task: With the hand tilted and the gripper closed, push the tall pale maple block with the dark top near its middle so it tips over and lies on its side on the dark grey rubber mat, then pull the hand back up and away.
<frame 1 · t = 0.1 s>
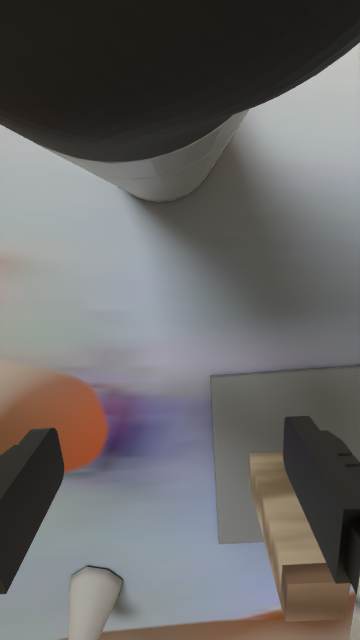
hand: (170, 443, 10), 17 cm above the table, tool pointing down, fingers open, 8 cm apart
flask: (96, 580, 40), on the table
rubber mat: (312, 462, 33), on the table
maple block: (268, 467, 32), resting on rubber mat
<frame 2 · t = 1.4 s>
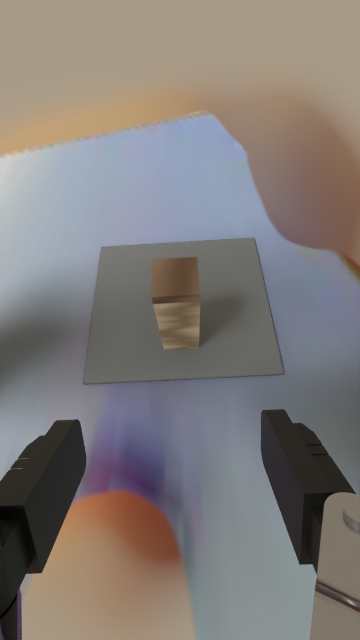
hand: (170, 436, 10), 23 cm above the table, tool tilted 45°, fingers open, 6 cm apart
rubber mat: (179, 302, 40), on the table
maple block: (180, 333, 37), resting on rubber mat
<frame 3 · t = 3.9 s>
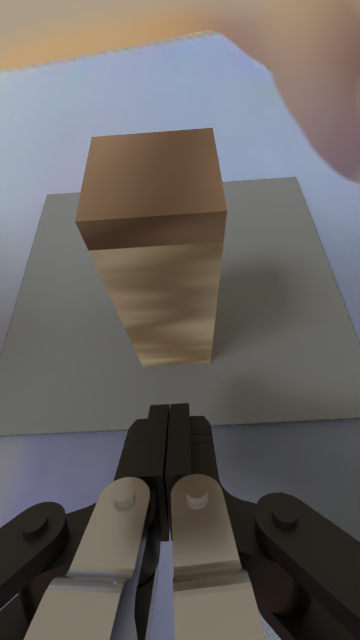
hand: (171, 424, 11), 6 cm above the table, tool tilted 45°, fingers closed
rubber mat: (173, 280, 23), on the table
maple block: (175, 334, 20), resting on rubber mat
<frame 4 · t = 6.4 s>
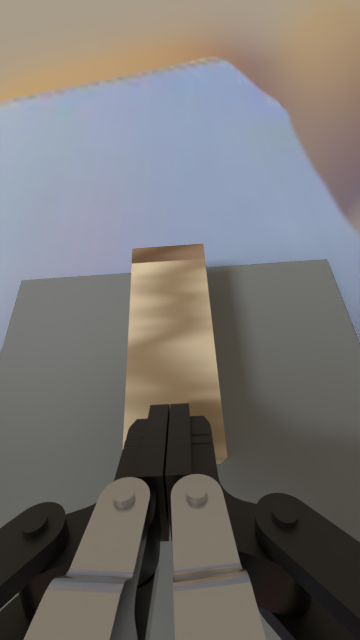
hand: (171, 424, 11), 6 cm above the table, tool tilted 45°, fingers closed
rubber mat: (178, 415, 17), on the table
maple block: (177, 463, 14), point 3 cm above the table, tilted 90°, touching rubber mat
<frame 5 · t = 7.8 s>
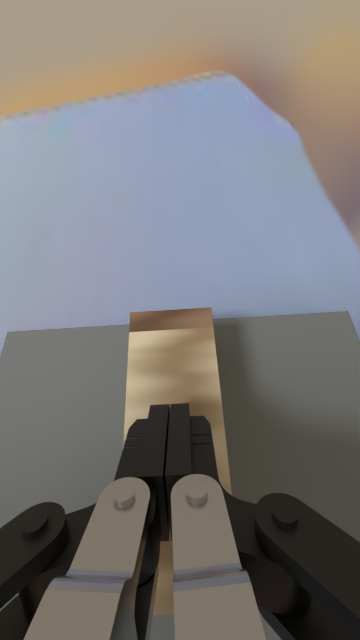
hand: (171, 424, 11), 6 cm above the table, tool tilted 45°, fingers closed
rubber mat: (182, 507, 15), on the table
maple block: (182, 592, 12), point 3 cm above the table, tilted 90°, touching rubber mat
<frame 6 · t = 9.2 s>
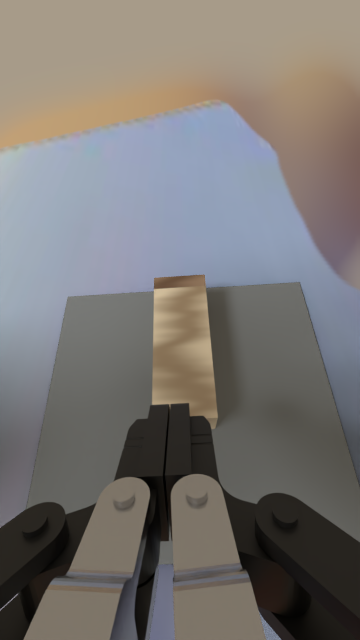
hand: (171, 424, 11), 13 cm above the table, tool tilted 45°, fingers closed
rubber mat: (186, 397, 25), on the table
maple block: (186, 425, 21), point 3 cm above the table, tilted 90°, touching rubber mat
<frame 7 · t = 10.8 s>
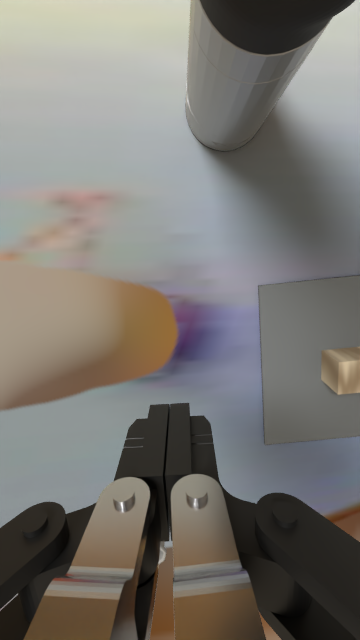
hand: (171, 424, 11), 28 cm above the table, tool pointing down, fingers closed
rubber mat: (339, 362, 41), on the table
maple block: (329, 371, 38), point 3 cm above the table, tilted 90°, touching rubber mat
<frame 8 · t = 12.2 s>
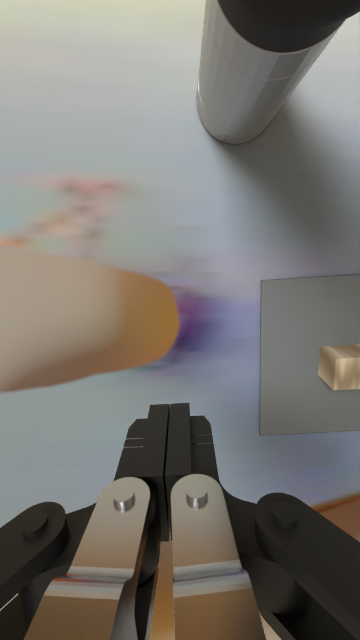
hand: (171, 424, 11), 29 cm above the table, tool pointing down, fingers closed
rubber mat: (336, 358, 41), on the table
maple block: (326, 367, 39), point 3 cm above the table, tilted 90°, touching rubber mat
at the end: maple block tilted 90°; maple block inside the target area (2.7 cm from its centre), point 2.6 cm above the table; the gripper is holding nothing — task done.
